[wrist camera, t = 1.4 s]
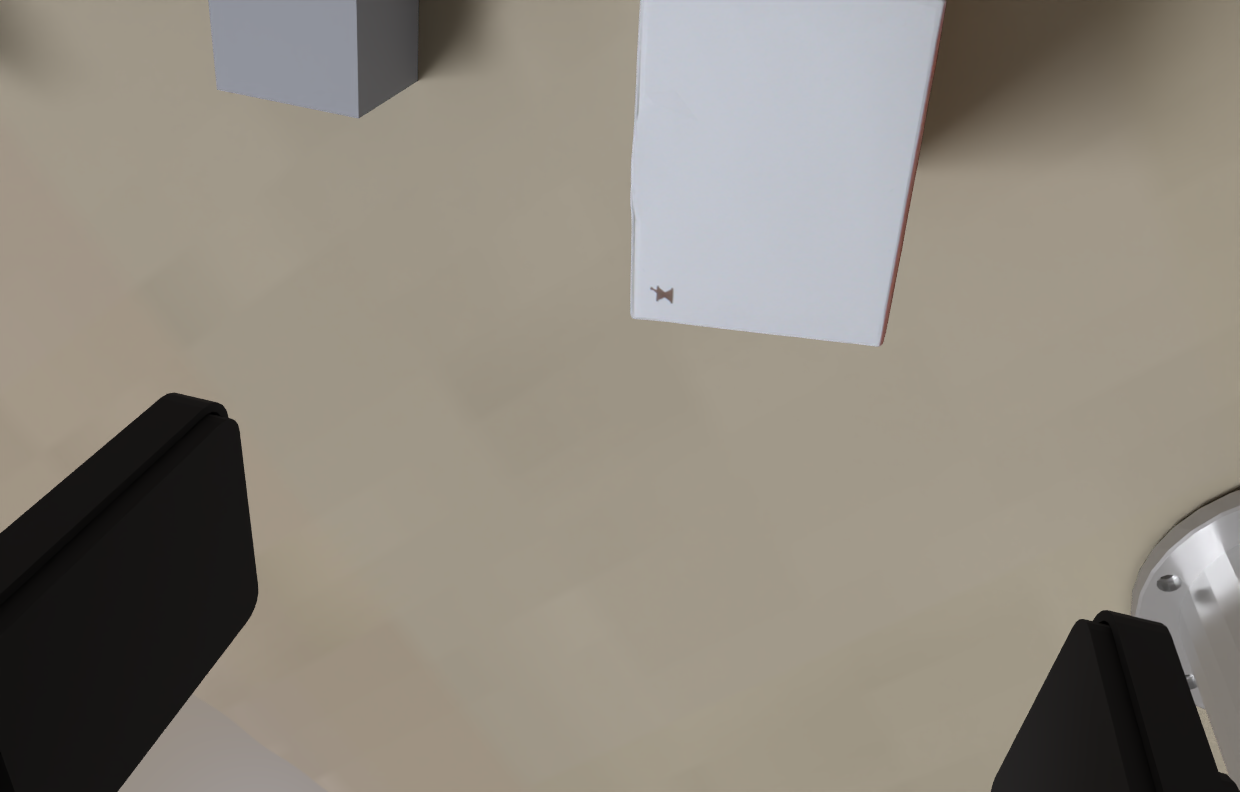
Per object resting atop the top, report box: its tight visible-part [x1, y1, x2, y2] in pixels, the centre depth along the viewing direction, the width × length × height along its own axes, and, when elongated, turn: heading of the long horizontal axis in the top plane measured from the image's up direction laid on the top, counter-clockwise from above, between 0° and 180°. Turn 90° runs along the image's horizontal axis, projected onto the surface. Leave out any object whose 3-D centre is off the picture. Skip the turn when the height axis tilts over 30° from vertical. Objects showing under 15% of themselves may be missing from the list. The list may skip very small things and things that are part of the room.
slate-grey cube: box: [208, 0, 419, 118], centre depth 33 cm, size 5×5×5 cm
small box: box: [630, 0, 947, 347], centre depth 27 cm, size 8×6×13 cm
